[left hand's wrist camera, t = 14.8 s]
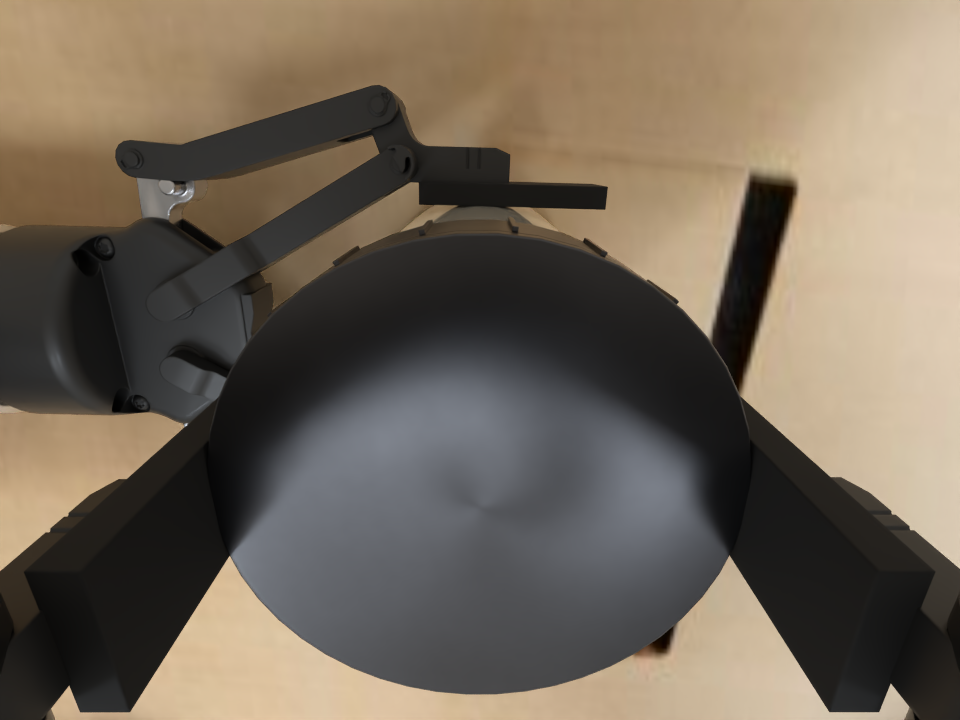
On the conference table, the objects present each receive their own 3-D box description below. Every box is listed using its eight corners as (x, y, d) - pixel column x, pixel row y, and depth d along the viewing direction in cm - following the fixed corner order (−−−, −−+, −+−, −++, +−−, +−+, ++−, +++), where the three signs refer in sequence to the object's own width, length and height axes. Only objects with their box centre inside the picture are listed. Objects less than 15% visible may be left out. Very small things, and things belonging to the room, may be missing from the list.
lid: (741, 559, 14) (789, 632, 11) (363, 657, 15) (344, 739, 13) (653, 138, 10) (701, 131, 8) (162, 315, 11) (88, 351, 9)
